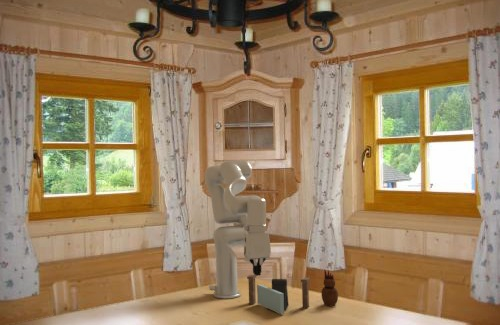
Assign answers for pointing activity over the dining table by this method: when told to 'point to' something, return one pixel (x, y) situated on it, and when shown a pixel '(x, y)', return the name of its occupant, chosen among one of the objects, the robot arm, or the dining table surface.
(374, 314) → the dining table surface
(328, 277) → the wooden figurine
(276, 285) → the door stopper
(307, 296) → the brown gate posts
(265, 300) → the door
